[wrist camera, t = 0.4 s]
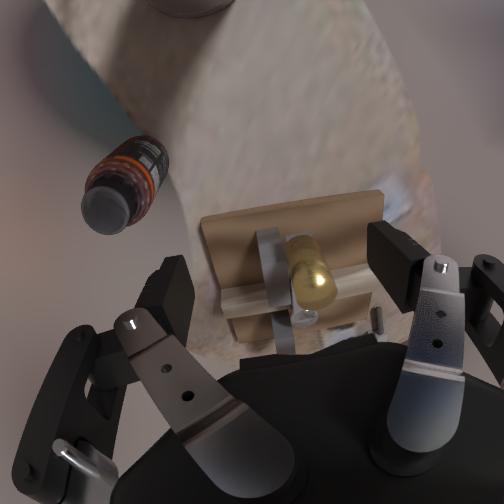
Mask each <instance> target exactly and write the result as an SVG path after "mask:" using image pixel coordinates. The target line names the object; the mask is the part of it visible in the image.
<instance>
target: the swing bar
mask: <svg viewBox="0 0 504 504" xmlns="http://www.w3.org/2000/svg"><path fill="white" fill-rule="evenodd" d="M285 240H286V245H285V247H284V255H285V259H286V263H287V266H288V270H289V278H290V288H291V299H292V309H291V310H290V313H289V315H290V319H291V323H292V325H293V326H294V327H297V328H306V327H309V326H311V325H313V324H314V323H316V321H317V320H318V313H317V310H320V309H323V308H325V307H327V306H328V305H330V304H331V303H332V302H333V301H334V300H335V298H336V296H337V293H338V290H337V287H336V284H335V282H334V280H333V277H332V275H331V273H330V270H329V268H328V266H327V263H326V261H325V259H324V257H323V254H322V252H321V250H320V248H319V245H318V243H317V241H316V240H315V239H314V238H313V236H312V234H311V231H309V232H303V233H297V234H291V235H285Z"/></svg>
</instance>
